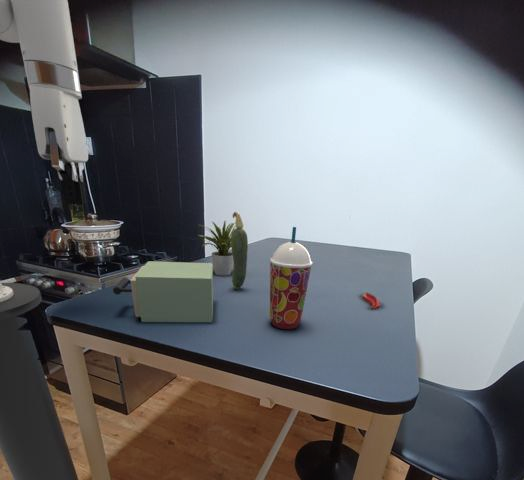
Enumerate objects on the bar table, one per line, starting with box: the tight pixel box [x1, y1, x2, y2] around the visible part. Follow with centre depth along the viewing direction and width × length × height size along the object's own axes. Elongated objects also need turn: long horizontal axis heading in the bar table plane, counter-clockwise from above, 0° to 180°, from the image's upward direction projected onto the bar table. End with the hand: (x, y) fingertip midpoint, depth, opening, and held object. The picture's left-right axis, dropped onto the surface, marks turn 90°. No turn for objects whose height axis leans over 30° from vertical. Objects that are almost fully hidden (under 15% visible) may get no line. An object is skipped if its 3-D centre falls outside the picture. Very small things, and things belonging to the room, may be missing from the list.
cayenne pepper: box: [362, 292, 381, 310], centre depth 85 cm, size 12×5×2 cm, turn 162°
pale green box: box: [135, 260, 214, 323], centre depth 70 cm, size 15×13×10 cm
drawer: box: [112, 265, 145, 318], centre depth 69 cm, size 18×11×8 cm, turn 97°
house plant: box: [197, 220, 236, 277], centre depth 99 cm, size 14×14×16 cm
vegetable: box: [230, 211, 249, 291], centre depth 83 cm, size 4×4×20 cm
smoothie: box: [269, 226, 313, 330], centre depth 64 cm, size 8×8×20 cm
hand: (75, 204), depth 61 cm, fingers closed
